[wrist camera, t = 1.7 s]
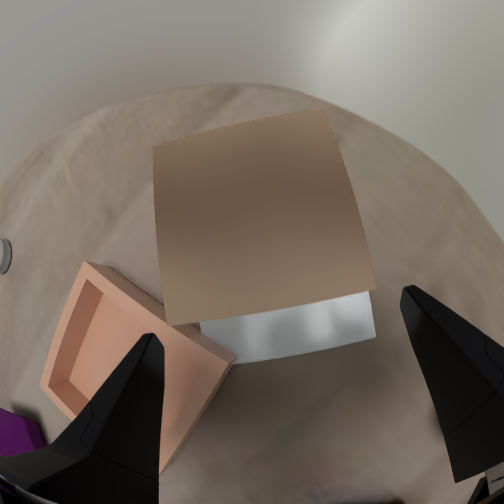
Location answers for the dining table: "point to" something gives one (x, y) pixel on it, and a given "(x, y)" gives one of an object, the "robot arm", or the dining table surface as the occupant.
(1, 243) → the rook chess piece
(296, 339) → the light grey board
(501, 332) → the dining table surface
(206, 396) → the box
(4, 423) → the perfume bottle
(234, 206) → the walnut block
